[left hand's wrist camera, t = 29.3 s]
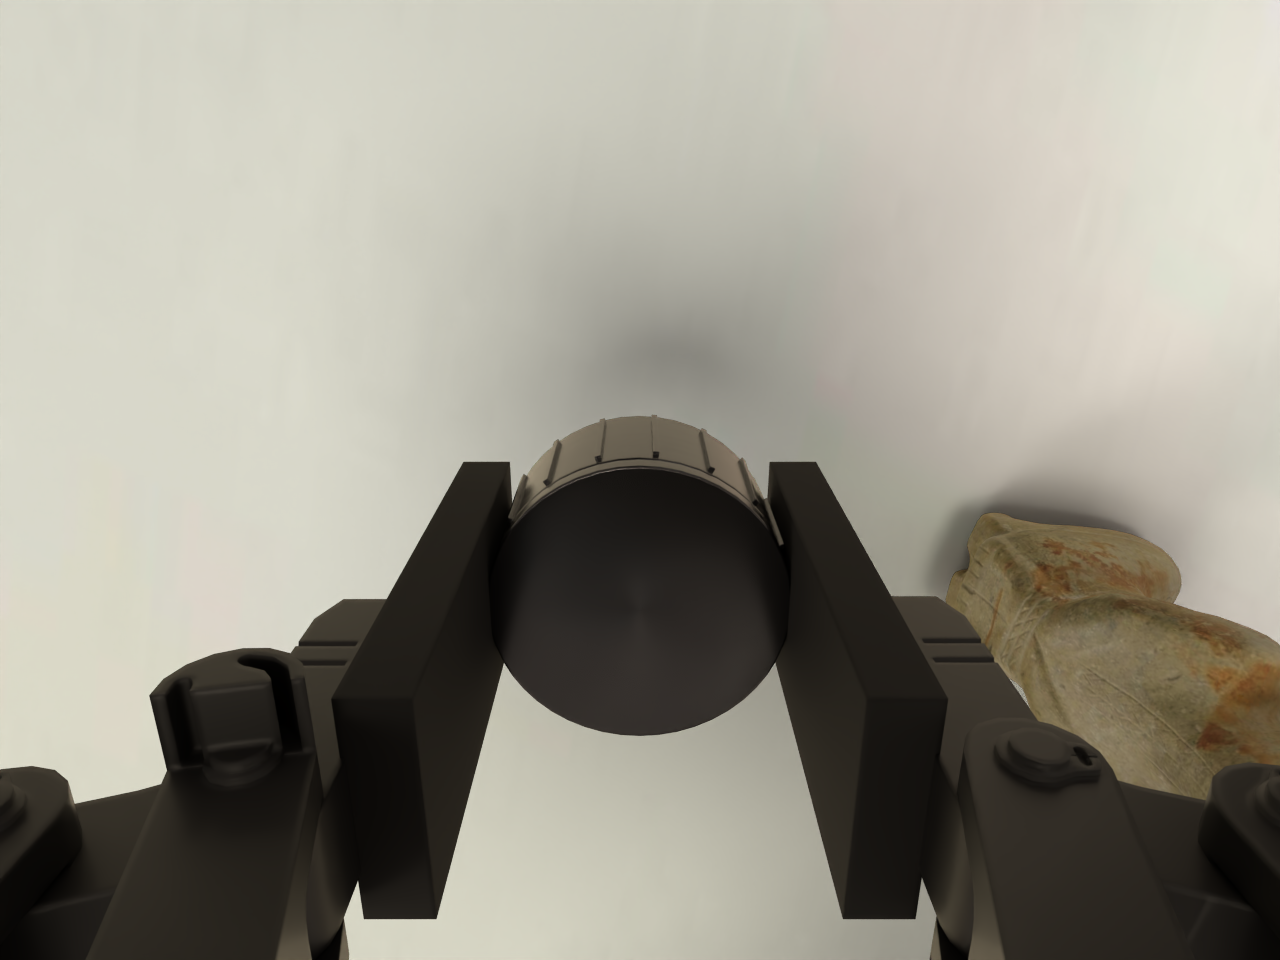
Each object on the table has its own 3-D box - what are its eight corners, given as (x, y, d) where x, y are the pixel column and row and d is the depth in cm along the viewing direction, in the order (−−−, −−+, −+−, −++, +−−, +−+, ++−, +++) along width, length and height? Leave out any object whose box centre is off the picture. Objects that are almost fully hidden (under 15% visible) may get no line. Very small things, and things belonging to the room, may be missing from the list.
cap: (469, 450, 14) (437, 508, 12) (739, 380, 14) (759, 425, 11) (551, 677, 15) (537, 765, 13) (795, 620, 15) (823, 700, 13)
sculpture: (1089, 665, 31) (1463, 1085, 17) (902, 613, 30) (1132, 1007, 16) (1170, 521, 29) (1667, 862, 15) (973, 461, 28) (1302, 761, 14)
